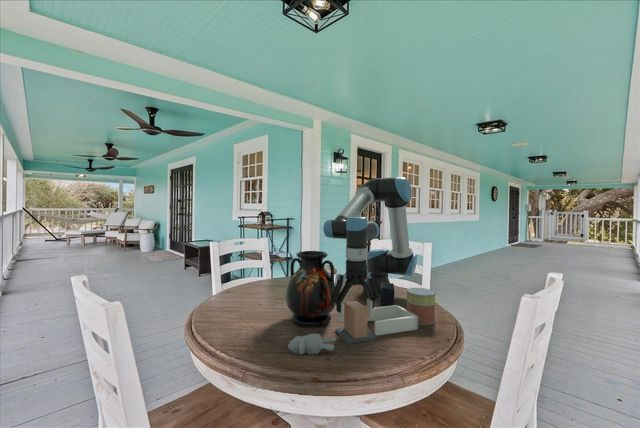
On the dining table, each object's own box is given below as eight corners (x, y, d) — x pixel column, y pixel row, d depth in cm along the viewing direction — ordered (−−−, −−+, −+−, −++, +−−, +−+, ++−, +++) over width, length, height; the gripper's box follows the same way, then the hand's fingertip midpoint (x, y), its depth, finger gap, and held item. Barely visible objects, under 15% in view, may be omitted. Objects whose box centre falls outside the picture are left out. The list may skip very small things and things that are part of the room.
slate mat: (361, 327, 118) (361, 325, 118) (375, 339, 108) (376, 336, 108) (335, 331, 114) (335, 328, 114) (347, 343, 104) (347, 340, 104)
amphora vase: (275, 326, 119) (276, 255, 118) (298, 308, 139) (298, 248, 138) (327, 334, 111) (328, 258, 110) (343, 315, 131) (344, 250, 131)
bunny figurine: (292, 331, 104) (335, 329, 102) (293, 346, 104) (337, 344, 102) (285, 344, 95) (332, 342, 93) (287, 360, 95) (334, 358, 93)
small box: (394, 311, 137) (394, 288, 136) (379, 310, 138) (380, 287, 138) (393, 304, 147) (394, 282, 147) (379, 303, 148) (380, 281, 148)
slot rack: (396, 316, 131) (397, 304, 130) (418, 329, 117) (418, 316, 117) (358, 321, 124) (358, 309, 124) (375, 335, 111) (375, 322, 111)
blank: (356, 326, 116) (356, 301, 116) (367, 336, 108) (367, 308, 107) (344, 328, 115) (344, 302, 114) (354, 338, 106) (354, 310, 106)
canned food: (440, 321, 126) (441, 292, 125) (422, 327, 119) (423, 296, 119) (418, 313, 135) (418, 286, 135) (400, 318, 129) (401, 290, 129)
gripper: (330, 262, 103) (329, 326, 104) (389, 259, 111) (388, 319, 111) (322, 258, 110) (322, 318, 111) (379, 256, 118) (378, 312, 118)
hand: (355, 318), depth 111 cm, fingers open, 11 cm apart
